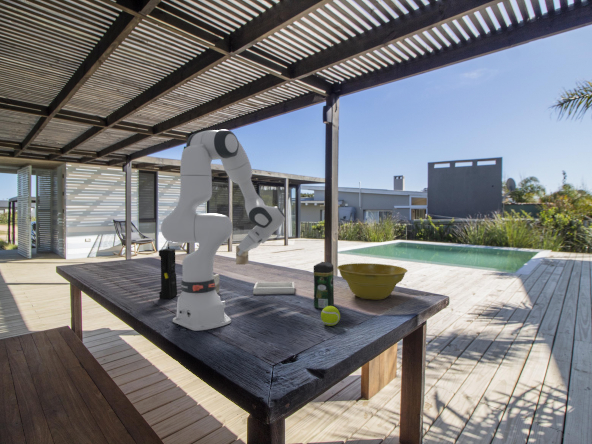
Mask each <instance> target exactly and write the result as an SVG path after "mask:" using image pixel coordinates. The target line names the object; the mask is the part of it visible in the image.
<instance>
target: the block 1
mask: <svg viewBox="0 0 592 444" xmlns="http://www.w3.org/2000/svg"><path fill="white" fill-rule="evenodd" d="M213 278H214V280H215V286H216V289H215V290H216V292H217V294H218V293H220V273H213Z"/></svg>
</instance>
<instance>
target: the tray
mask: <svg viewBox="0 0 592 444" xmlns="http://www.w3.org/2000/svg"><path fill="white" fill-rule="evenodd" d="M295 289H296V288H295V281H256V282H255V284H254V287H253V293H252V294H253V295H295V291H296V290H295Z"/></svg>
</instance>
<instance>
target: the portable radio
mask: <svg viewBox="0 0 592 444" xmlns="http://www.w3.org/2000/svg"><path fill="white" fill-rule="evenodd" d="M158 256H159V257H160V291H159V293H158V294H159V295H158V296H159V299H161V300H171V299H173V298H175V297H176V296H177V295H178V289H177V288H178V287H177V285H178V284H177V273H176V249H175V248H170V244H169V243H167V248H163V249H159V250H158Z"/></svg>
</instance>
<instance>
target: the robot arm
mask: <svg viewBox="0 0 592 444" xmlns="http://www.w3.org/2000/svg"><path fill="white" fill-rule="evenodd" d="M185 146H186V147H184V148H183V150H182V153H181V159H180V170H179V172H180V173H179V174H180V175H179V176H180V177H179V178H180V179H179V180H180V186H179V187H180V192H179V199H178V201H177V204H176V206H175V208H173V210H172V212H170V213H169V214H168V215H166V216H165V217H164V219H163V220H162V222H161V225H160V230H161V235H162V236H163V238H164V239H165V240H166V241H168V242H174V243H179V244H188V243H189V244H190V243H191V244H192V243H197V244H198V248H197V250H195V251H193V252H192V251H191V253H189V254H187V255H185V256H184V258H183V260H182V263H181V265H182V267H181V268H182V269H181V270H182V272H181V273H182V280H181V282H180V283H181V284H180V287H181V293H180V295H178V297H177V305H176V316H175V317H173V318H172V323H174V324H176V325H177V324H178V326H179V325H180V326H181V327H183V328H187V329H189V330H192V331H195V332H196V331H197V332H198V331H207V330H211V329H216V328H219V327H220V328H221V327H224V326H226V325H228V324H231V323H232V319H231V317H230V316H228V315H227V313H226V312H225V308H226V301H225V300H222V299H221V296H220V295H219V294H218V293H217V292H216V290H215V289H216V286H215V280H214V278H213V274H214V266H215V265H214V263H215V257H216V254H217V252H218V250H219V248H220V247H221V246H222V245H223V244H224V243H225V242H226V241H228V240H229V239H230V238H231V236H232V234H233V231H234V230H233V229H234V226H233V222H232V220H231V219H230V217H229V216H227V215H225V214H221V213H197V208H198V207H199V206H201V205H203V204H205V203H207V202H208V201H210V199H211V198H212V196H213V183H212V182H213V181H212V180H213V179H212V177H213V175H212V165H211V164H212V161H215V160H221V161H220V162H221V164H222V166H223V168H224V169H223V170H224V171H225V173H226V175H227V177H228V179H230V181H231V182H232V183H234V184H236V185H238V187H239V189H240V191H241V193H242V196H243V207H244V209H245V211H246V214H247V217H248V220H249V222H251V223H252V224H253V225H255V226H254V227H253V228H252V229H250V230H248V232H247V235H246V236H244V238H243V239H242V240H241V242H240V243H239V244H238V245H237V246H238V248H239V249H240V251H239V252H238V253H237V254H238V255H239V256H241V255H242V254H243V252H244V251H247V250H248V252H249V251H251V250H253V249H256V248H258V247H259V245H260V244H265V243H266V242H267V241H268V239H269V238H271V237H272V236H273V235H272V234H273V233H274V232H276V231H278V229H279V228H280V227H281V226H282V225H283V224H284V222H285V220H286V215H285V213H284V211H283V210H282V209H281V208H280V207H279V206H270V205H266V204H265V201H264V198H263V197H262V196H261V195H260V194H258V193H257V192H256V189H255V187H254V184H253V182H252V176H253V169H252V165H251V162H250V160H249V157H248V155H247V153H246V151H245V149H244V148H243V146H242V144H241V142H240V140H239V139H238V137H237V136H236V135H235V133H234V132H232V131H231V130H228V129H222V128H221V129H219V130H218V129H217V130H215V129H214V130H213V129H212V130H211V129H208V130H204V131H200V132H198V131H197V132H195V133H193V134H191V135H189V137H188V138H187V140H186V144H185Z"/></svg>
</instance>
